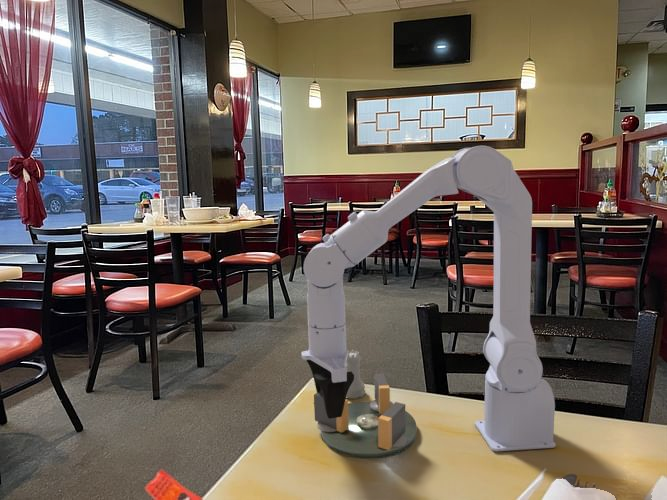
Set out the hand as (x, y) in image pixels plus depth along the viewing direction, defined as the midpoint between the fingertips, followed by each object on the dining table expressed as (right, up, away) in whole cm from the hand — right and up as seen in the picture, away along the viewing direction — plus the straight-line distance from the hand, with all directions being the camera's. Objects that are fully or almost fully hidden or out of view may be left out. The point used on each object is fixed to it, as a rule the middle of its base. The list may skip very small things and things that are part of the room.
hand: (329, 407), depth 77 cm
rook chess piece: (+4, -2, +14) cm, 15 cm away
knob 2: (+9, -4, -4) cm, 11 cm away
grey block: (+9, -2, +6) cm, 11 cm away
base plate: (+6, -4, +1) cm, 7 cm away
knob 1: (0, -3, +1) cm, 3 cm away
